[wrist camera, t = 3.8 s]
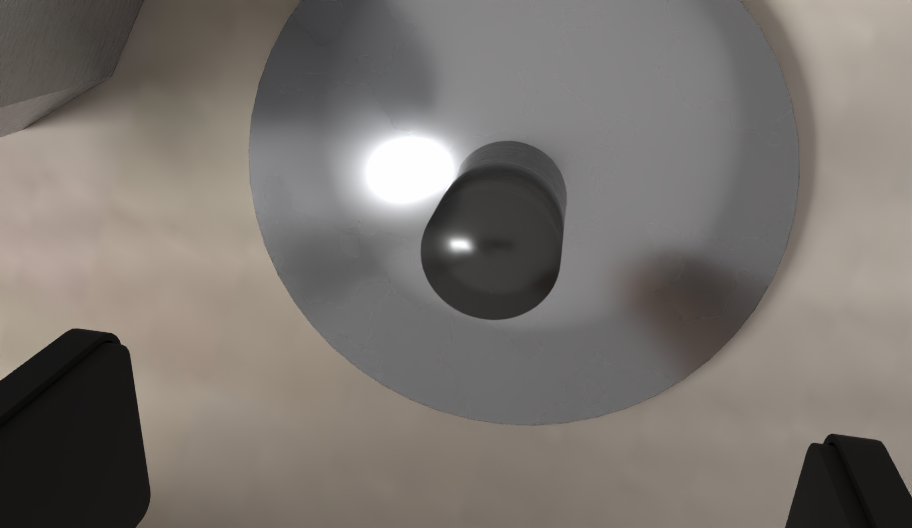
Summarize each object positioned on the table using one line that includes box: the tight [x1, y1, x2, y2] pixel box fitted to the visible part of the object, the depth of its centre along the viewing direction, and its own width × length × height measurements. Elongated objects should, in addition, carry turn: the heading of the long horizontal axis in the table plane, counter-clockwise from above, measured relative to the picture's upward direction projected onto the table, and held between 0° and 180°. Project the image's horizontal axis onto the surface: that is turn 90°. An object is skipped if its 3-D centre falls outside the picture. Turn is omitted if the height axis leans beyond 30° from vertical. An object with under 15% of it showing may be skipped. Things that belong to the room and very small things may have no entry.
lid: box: [249, 0, 799, 425], centre depth 21 cm, size 16×16×5 cm
